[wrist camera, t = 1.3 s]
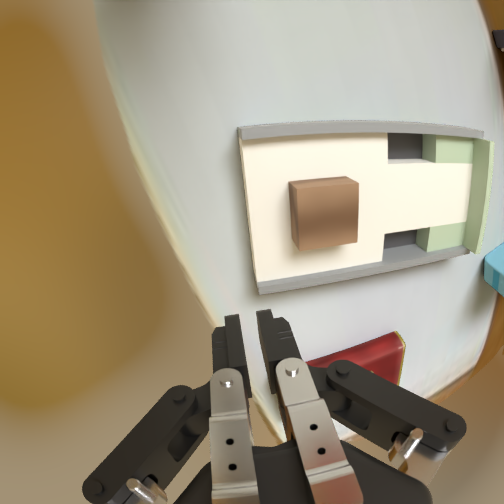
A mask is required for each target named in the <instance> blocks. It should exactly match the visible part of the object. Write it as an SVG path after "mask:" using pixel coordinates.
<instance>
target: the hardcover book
mask: <svg viewBox="0 0 504 504" xmlns="http://www.w3.org/2000/svg"><path fill="white" fill-rule="evenodd" d="M405 347H406V345H405V342H404V341H403V339H402V337H401V336H400V335H399V333H398V332H397V331H394V332H391V333H389V334H386V335H383V336H381V337H378V338H376V339H373V340H370V341H368V342H365V343H362V344H359V345H356V346H354V347H351V348H348V349H345V350H342V351H339V352H336V353H333V354H330V355H327V356H324V357H321V358H317V359H314V360H311V361H308V362H305V363H306V364H308V365H310V366H313V367H324V368H328V366H329V365H330V364H331V363H332V362H334V361H336V360H349V361H351V362H353V363H355V364H357V365H359V366H361V367H363V368H365V369H367V370H369V371H370V372H372V373H374V374H376V375H378V376H380V377H382V378H384V379H386V380H388V381H390V382H392V383H394V384H396V385H398V386H399V382H400V376H401V371H402V365H403V359H404V353H405ZM276 395H277V393H276ZM277 398H278V397H277Z"/></svg>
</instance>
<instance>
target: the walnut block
mask: <svg viewBox="0 0 504 504" xmlns="http://www.w3.org/2000/svg"><path fill="white" fill-rule="evenodd" d="M288 185H289V200H290V216H291V234H292V240H293V242H294V243H295V245H296V247H297V248H298V250H299V251H305V250H312V249H318V248H325V247H332V246H338V245H345V244H351V243H357V240H358V215H359V183H358V182H356V181H354V180H352V179H351V178H349V177H347V176H341V177H329V178H317V179H307V180H297V181H288Z"/></svg>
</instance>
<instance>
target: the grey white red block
mask: <svg viewBox="0 0 504 504" xmlns="http://www.w3.org/2000/svg"><path fill="white" fill-rule="evenodd" d="M493 34H494V38H495V41H496V45H497V48H501V51H503V52H504V30H493Z"/></svg>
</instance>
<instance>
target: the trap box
mask: <svg viewBox="0 0 504 504" xmlns="http://www.w3.org/2000/svg"><path fill="white" fill-rule="evenodd" d="M237 128H238V137H239V145H240V154H241V163H242V172H243V181H244V190H245V199H246V207H247V216H248V225H249V234H250V243H251V252H252V260H253V269H254V277H255V281H256V285H257V288H258V292H259V295H263V294H269V293H275V292H281V291H287V290H293V289H299V288H305V287H311V286H316V285H322V284H327V283H333V282H338V281H344V280H349V279H354V278H359V277H364V276H369V275H374V274H379V273H384V272H389V271H394V270H399V269H403V268H408V267H413V266H417V265H422V264H426V263H431V262H435V261H440V260H444V259H448V258H453V257H457V256H461V255H465V254H469V253H470V251H471V252H473V253H474V254H479V253H480V251H481V246H482V241H483V236H484V231H485V226H486V220H487V214H488V207H489V200H490V192H491V183H492V173H493V160H494V142H493V141H489V140H486V139H483V137H484V131H480V130H475V129H471V128H466V127H459V126H451V125H441V124H430V123H417V122H399V121H367V120H341V121H308V122H290V123H276V124H264V125H254V126H244V127H237ZM341 176H347V177H349V178H351V179H352V180H354V181H356V182H358V183H359V215H358V240H357V243H351V244H345V245H338V246H332V247H325V248H318V249H312V250H305V251H299V250H298V248H297V247H296V245H295V243H294V242H293V240H292V234H291V216H290V200H289V185H288V181H297V180H307V179H317V178H329V177H341Z"/></svg>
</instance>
